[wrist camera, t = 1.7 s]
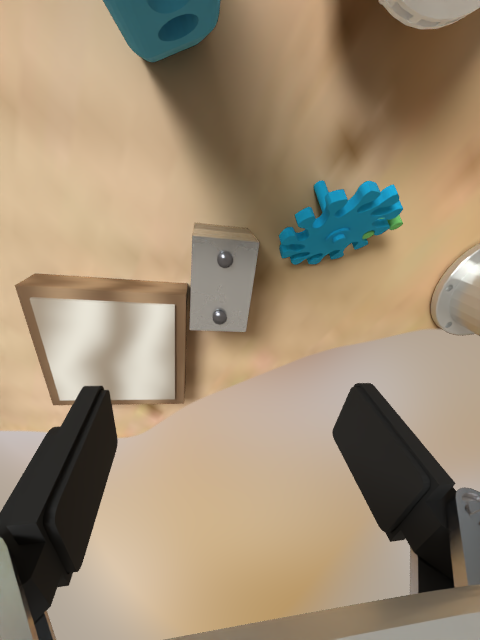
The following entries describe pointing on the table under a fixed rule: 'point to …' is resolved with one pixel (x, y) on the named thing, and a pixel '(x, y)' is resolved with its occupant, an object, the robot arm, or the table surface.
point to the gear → (341, 222)
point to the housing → (221, 277)
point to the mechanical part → (429, 11)
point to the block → (163, 24)
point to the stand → (108, 336)
